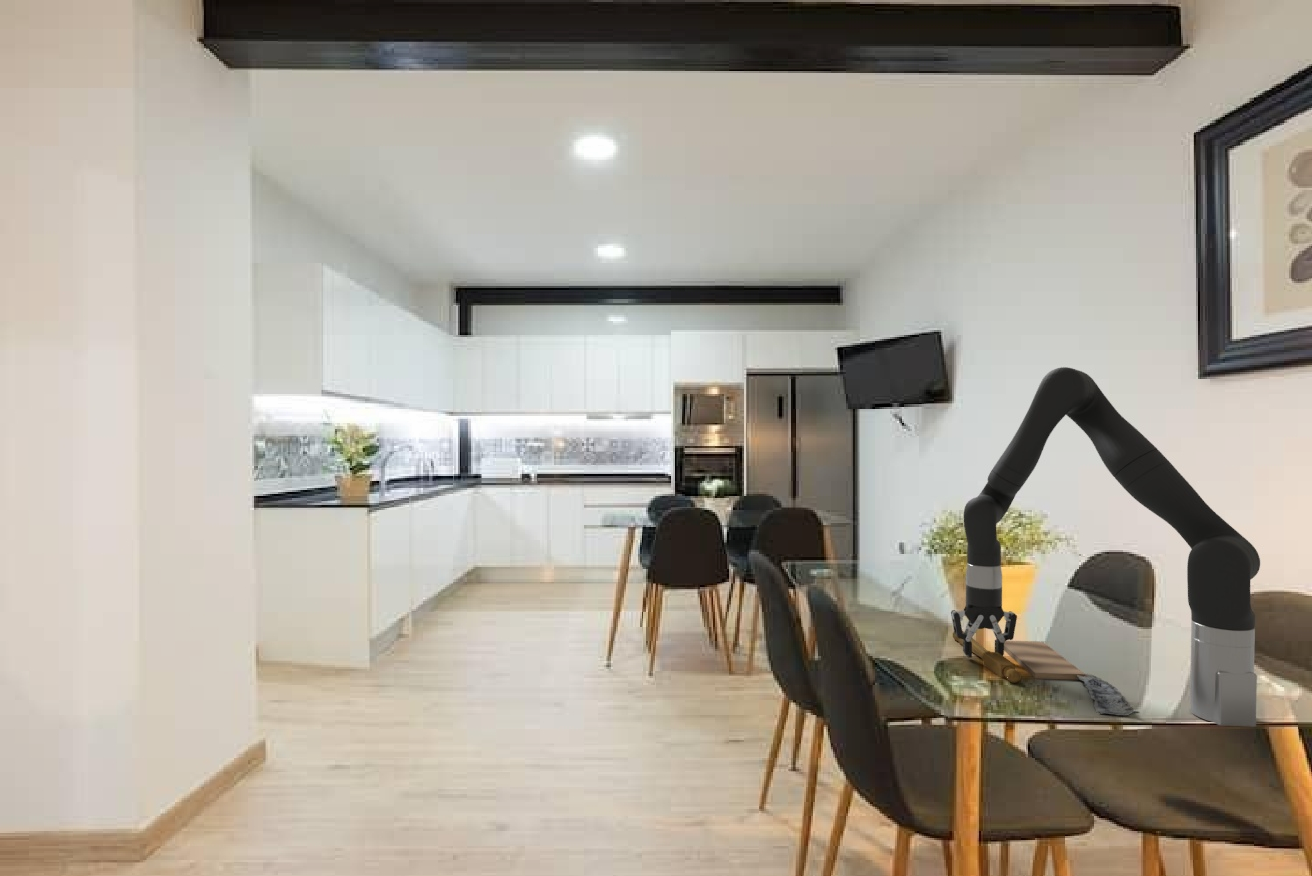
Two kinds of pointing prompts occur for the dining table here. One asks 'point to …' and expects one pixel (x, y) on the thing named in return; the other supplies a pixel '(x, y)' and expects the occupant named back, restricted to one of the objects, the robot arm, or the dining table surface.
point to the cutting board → (1041, 660)
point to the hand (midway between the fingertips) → (983, 656)
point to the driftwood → (1106, 696)
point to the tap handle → (994, 661)
